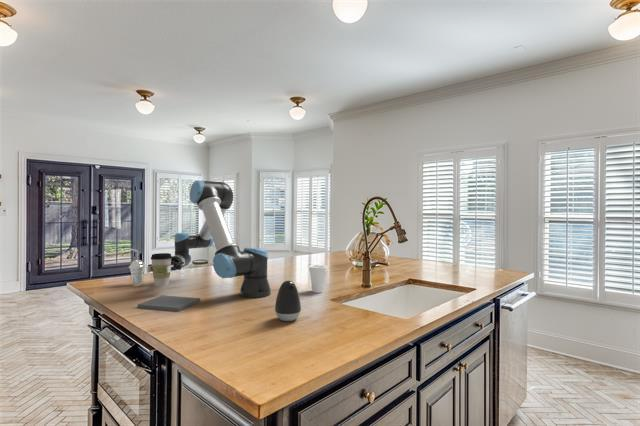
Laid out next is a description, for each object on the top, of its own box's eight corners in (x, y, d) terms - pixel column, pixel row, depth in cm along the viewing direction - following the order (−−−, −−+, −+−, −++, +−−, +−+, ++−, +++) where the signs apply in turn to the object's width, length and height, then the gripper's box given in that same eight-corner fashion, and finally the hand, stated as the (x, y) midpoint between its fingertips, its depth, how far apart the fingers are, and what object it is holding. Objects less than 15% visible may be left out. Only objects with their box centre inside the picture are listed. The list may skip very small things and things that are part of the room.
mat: (200, 301, 161) (200, 298, 161) (178, 311, 145) (178, 307, 145) (162, 298, 165) (162, 295, 165) (137, 307, 150) (137, 304, 150)
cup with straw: (132, 287, 187) (132, 250, 186) (125, 284, 193) (125, 248, 193) (148, 284, 193) (148, 248, 193) (141, 282, 199) (141, 247, 199)
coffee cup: (166, 286, 167) (166, 255, 167) (146, 286, 167) (146, 255, 167) (175, 282, 177) (175, 253, 177) (156, 282, 177) (156, 253, 177)
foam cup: (330, 290, 184) (330, 266, 183) (321, 294, 176) (321, 268, 176) (315, 288, 189) (315, 264, 188) (305, 291, 181) (305, 266, 181)
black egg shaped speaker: (280, 325, 130) (280, 284, 129) (271, 317, 139) (271, 279, 139) (305, 321, 134) (305, 282, 134) (294, 313, 144) (295, 277, 143)
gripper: (195, 269, 191) (180, 277, 168) (155, 269, 190) (134, 277, 167) (195, 255, 191) (180, 261, 168) (155, 256, 190) (134, 262, 167)
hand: (157, 269), depth 168 cm, fingers closed on coffee cup, 9 cm apart
